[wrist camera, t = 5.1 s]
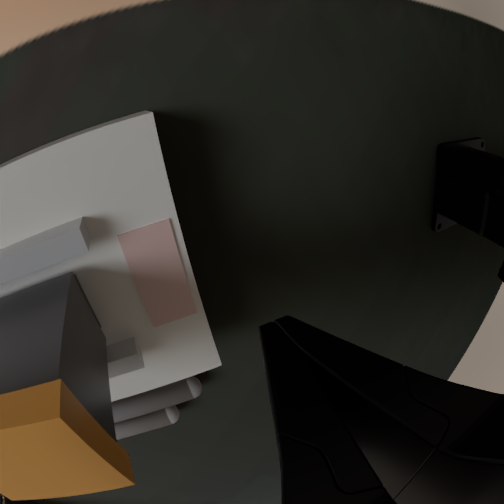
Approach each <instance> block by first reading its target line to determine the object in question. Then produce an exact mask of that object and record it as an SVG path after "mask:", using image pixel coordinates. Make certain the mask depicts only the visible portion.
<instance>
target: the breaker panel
mask: <svg viewBox="0 0 504 504" xmlns="http://www.w3.org/2000/svg"><path fill="white" fill-rule="evenodd" d="M71 271H72V272H73V275H74V277H75V279H76V281H77V283H78V285H79V287H80V289H81V291H82V293H83V295H84V297H85V299H86V301H87V303H88V305H89V307H90V309H91V311H92V313H93V315H94V317H95V319H96V321H97V323H98V324H99V326H100V328H101V330H102V332H103V333H104V335H105V337H106V349H107V363H108V375H109V386H110V395H111V402H113V401H116V400H119V399H123V398H126V397H130V396H133V395H136V394H139V393H143V392H146V391H149V390H152V389H155V388H158V387H161V386H164V385H167V384H170V383H173V382H176V381H179V380H182V379H185V378H188V377H191V376H194V375H197V374H199V373H202V372H205V371H208V370H210V369H213V368H216V367H218V366H221V365H222V364H221V361H220V358H219V355H218V352H217V349H216V346H215V343H214V340H213V337H212V334H211V330H210V327H209V324H208V321H207V318H206V315H205V311H204V308H203V305H202V302H201V298H200V295H199V292H198V288H197V285H196V281H195V278H194V275H193V271H192V268H191V264H190V261H189V257H188V254H187V250H186V246H185V243H184V239H183V235H182V232H181V228H180V224H179V220H178V217H177V213H176V209H175V205H174V201H173V197H172V193H171V189H170V185H169V181H168V177H167V173H166V169H165V165H164V160H163V156H162V152H161V147H160V143H159V139H158V134H157V130H156V125H155V120H154V116H153V112H150V111H142V112H138V113H135V114H131V115H128V116H125V117H121V118H118V119H115V120H112V121H108V122H105V123H102V124H99V125H96V126H93V127H90V128H87V129H85V130H82V131H79V132H76V133H74V134H71V135H68V136H65V137H63V138H60V139H58V140H55V141H53V142H50V143H48V144H45V145H43V146H40V147H38V148H36V149H33V150H31V151H29V152H26V153H24V154H22V155H20V156H17V157H15V158H13V159H11V160H9V161H7V162H5V163H3V164H0V298H2V297H5V296H7V295H10V294H12V293H15V292H18V291H20V290H23V289H25V288H28V287H31V286H33V285H36V284H39V283H41V282H44V281H47V280H49V279H52V278H55V277H58V276H60V275H63V274H66V273H69V272H71Z"/></svg>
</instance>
